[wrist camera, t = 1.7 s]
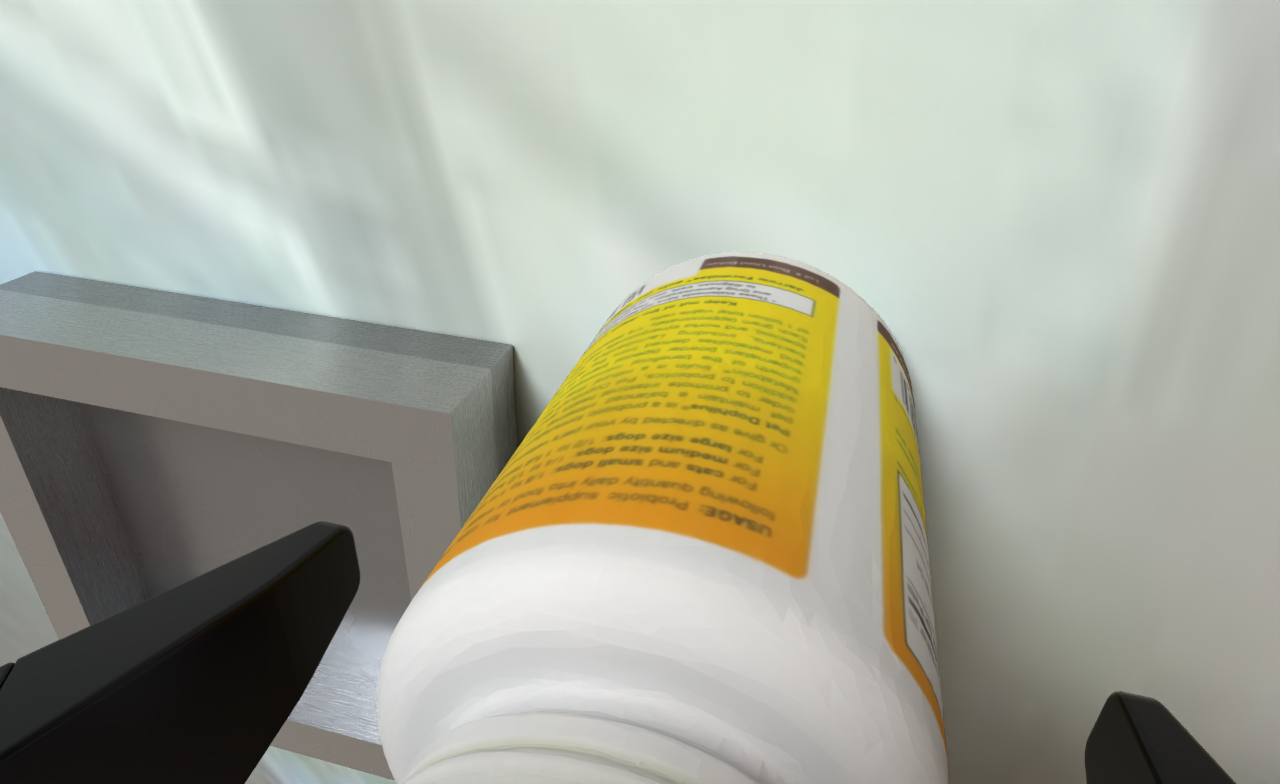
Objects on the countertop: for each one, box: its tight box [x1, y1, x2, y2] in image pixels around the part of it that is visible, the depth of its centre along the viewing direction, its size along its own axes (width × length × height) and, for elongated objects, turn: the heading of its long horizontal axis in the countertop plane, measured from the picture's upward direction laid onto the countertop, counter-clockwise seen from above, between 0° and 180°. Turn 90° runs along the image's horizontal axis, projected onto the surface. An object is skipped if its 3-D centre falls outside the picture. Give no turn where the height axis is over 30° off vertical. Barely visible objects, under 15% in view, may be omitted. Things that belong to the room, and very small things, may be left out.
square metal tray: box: [0, 271, 517, 780], centre depth 18 cm, size 11×10×3 cm
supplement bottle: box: [377, 252, 948, 784], centre depth 10 cm, size 6×6×10 cm
